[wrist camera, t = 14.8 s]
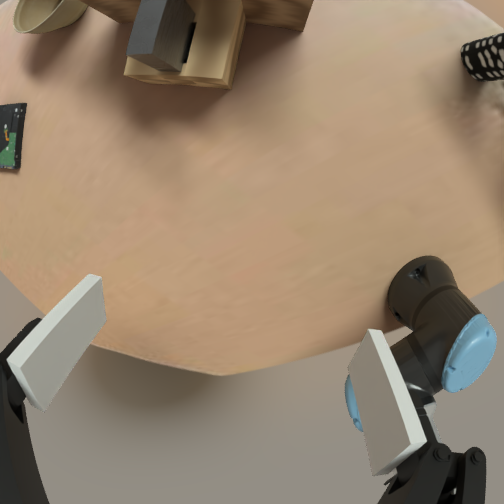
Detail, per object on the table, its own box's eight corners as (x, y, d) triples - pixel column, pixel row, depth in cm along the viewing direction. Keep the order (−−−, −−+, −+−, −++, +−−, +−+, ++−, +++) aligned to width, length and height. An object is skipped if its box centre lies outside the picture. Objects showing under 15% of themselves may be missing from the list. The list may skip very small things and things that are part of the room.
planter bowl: (88, 37, 34) (54, 25, 24) (36, 44, 33) (3, 39, 23) (117, -28, 28) (90, -49, 18) (61, -15, 27) (33, -28, 17)
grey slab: (205, 28, 32) (173, -18, 17) (193, 79, 36) (151, 53, 21) (186, 27, 32) (146, -16, 17) (174, 78, 35) (125, 54, 21)
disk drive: (5, 105, 39) (-1, 165, 44) (-3, 105, 36) (-9, 167, 42) (29, 102, 39) (22, 167, 45) (20, 102, 36) (14, 170, 42)
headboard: (305, 17, 33) (326, -47, 14) (289, 99, 39) (304, 72, 20) (123, 10, 32) (60, -29, 14) (104, 84, 38) (26, 72, 20)
